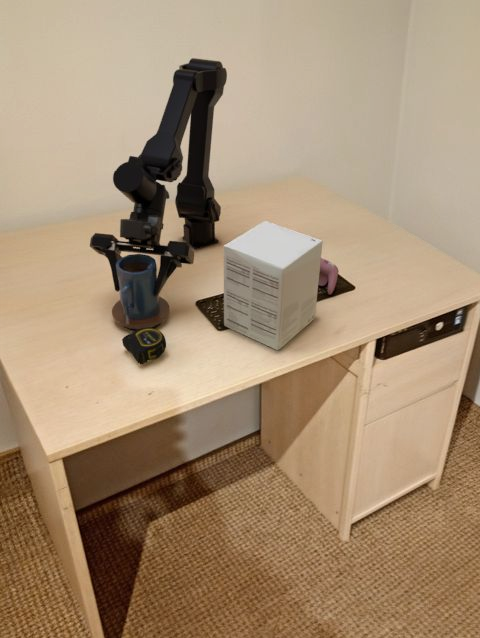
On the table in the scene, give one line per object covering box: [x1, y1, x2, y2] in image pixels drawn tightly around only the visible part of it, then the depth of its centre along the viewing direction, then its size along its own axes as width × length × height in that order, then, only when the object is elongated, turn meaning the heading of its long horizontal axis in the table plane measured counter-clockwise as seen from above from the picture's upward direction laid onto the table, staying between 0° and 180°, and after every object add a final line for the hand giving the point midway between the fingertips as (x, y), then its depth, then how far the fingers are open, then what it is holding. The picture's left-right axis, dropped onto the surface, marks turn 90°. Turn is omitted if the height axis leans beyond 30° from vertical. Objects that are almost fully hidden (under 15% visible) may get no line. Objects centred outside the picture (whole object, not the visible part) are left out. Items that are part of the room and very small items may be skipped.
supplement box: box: [223, 220, 324, 351], centre depth 114 cm, size 13×13×18 cm
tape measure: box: [121, 328, 167, 366], centre depth 109 cm, size 7×7×4 cm
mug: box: [111, 253, 171, 329], centre depth 115 cm, size 12×11×11 cm
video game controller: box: [318, 257, 339, 295], centre depth 129 cm, size 10×5×7 cm, turn 71°
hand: (136, 293), depth 114 cm, fingers closed on mug, 7 cm apart
